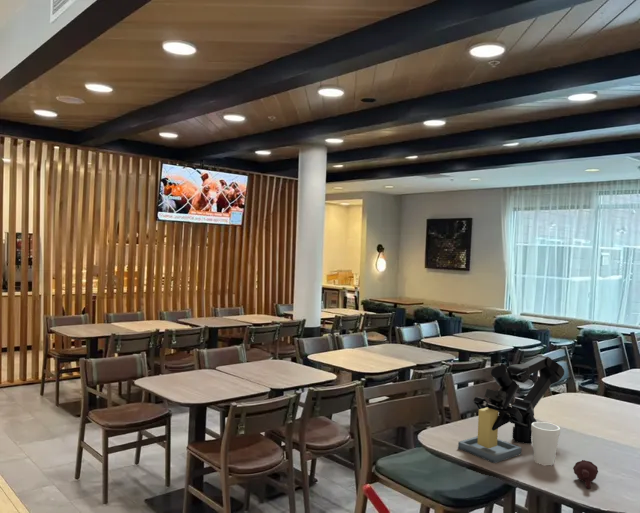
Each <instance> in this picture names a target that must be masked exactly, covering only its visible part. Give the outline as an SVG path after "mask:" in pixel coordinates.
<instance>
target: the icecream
mask: <svg viewBox="0 0 640 513" xmlns="http://www.w3.org/2000/svg"><path fill="white" fill-rule="evenodd" d="M572 470H573V473H574V474H575V476H576V477H577V479H578V480H580V481H582V482H584V483H585V488H586V489H588V490H590V489H591V487H592V482H593V481H594V480H596V478H597V477H598V476H597V475H598V473H599V471H598V470H599V469H598V466H597V465H596V464H594V463H593V462H592V461H588V460H585V459H582V460H579V461H577V462H575V464H574V465H573V467H572Z"/></svg>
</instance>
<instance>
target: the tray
mask: <svg viewBox="0 0 640 513" xmlns="http://www.w3.org/2000/svg"><path fill="white" fill-rule="evenodd" d="M477 442H478V435H477V436H474V437H470V438H467V439H463V440H460V441H458V445H457V446H458V447H457V448H458V450H461V451H463V450H464V452H466V453H468V452H469V454H471V455H472V456H473V455H474V456H475V455H476V456H475V457H478V458H479V459H482V460H485V461H488V462H490V463H493V464H496V463H499V462H501V461H502V460H503V461H505V460H507V459H512V458H513V457H517V456H519V454H520V455H522V447H521V446H519V445H516V444H514V443H511V442H509V441H505V440H502V439H500V438H497V446H495V447H492V448H486V447H484V446H481V445H478V444H477ZM516 455H517V456H516ZM503 461H502V462H503Z"/></svg>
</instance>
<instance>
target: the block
mask: <svg viewBox="0 0 640 513" xmlns="http://www.w3.org/2000/svg"><path fill="white" fill-rule="evenodd" d="M498 416H499V411H497V410H494V409H491V408H483V409H478V419H477V420H478V421H477V422H478V424H477V436H478V442H477V444H478V445H481V446H484V447H486V448H492V447H495V446H497V439H498V434H499V433H498V432H499V430H498V429H499V428H497V429H496V430H494V431H493V430H492V427H493V425H494V423H495V421H496V419H497V418H498Z"/></svg>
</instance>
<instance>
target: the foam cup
mask: <svg viewBox="0 0 640 513" xmlns="http://www.w3.org/2000/svg"><path fill="white" fill-rule="evenodd" d="M531 431H532V436H531V441H532V447H533V448H532V450H533V458H534V460H535V461H534V462H535V463H536V462H537V463H536V464H538V463H539V465H540V464H542V465H541V466H545V465H551V466H554V463H555V459H556V454H557V449H558V444H559V440H560V439H559V438H560V435H561V428H560V426H558V425H557V424H554V423H551V422H547V421H537V422H533V423H532V424H531Z"/></svg>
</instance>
